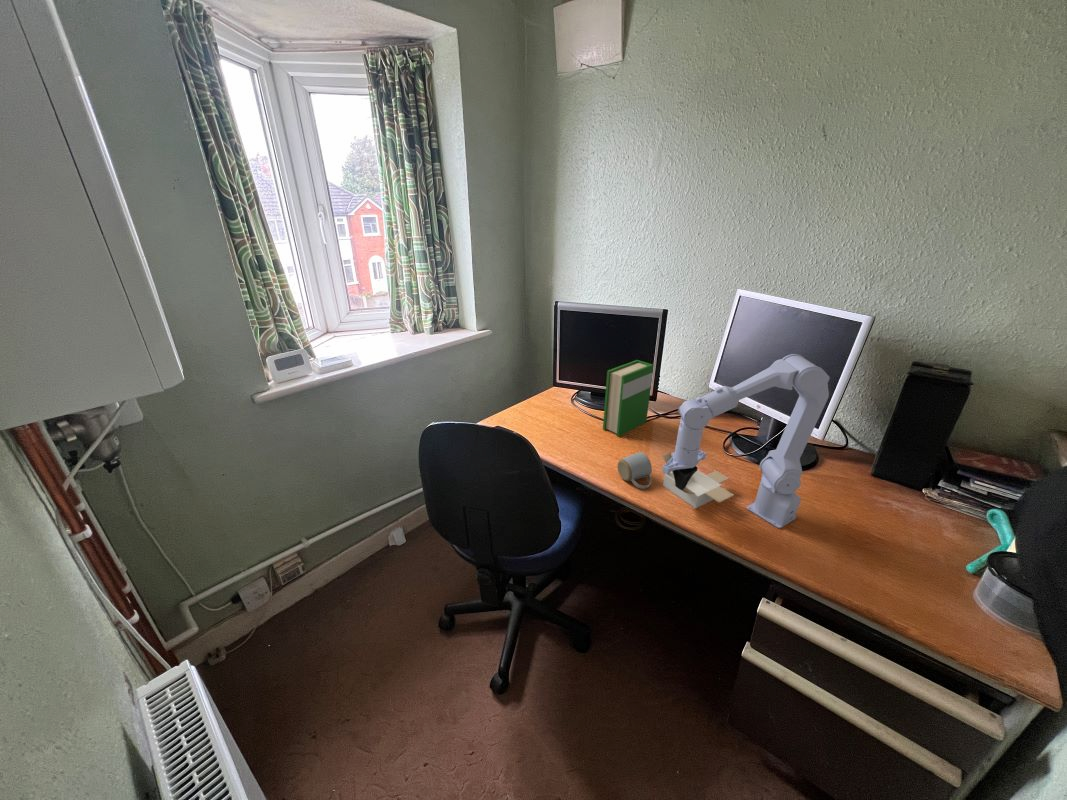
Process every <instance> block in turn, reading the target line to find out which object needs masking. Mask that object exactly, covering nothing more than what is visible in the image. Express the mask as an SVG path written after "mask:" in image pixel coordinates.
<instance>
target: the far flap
mask: <svg viewBox="0 0 1067 800" xmlns="http://www.w3.org/2000/svg"><path fill="white" fill-rule="evenodd" d="M673 452H675V450H674V451H672V452H669V453H666V454H664V455H661V457H662V459H663V460H664V462H665V464H666V463H667V462H668V461H669V460H670V459H671V458H672V457H673V456H671V453H673Z"/></svg>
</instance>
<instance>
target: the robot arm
mask: <svg viewBox="0 0 1067 800" xmlns="http://www.w3.org/2000/svg"><path fill="white" fill-rule="evenodd" d="M830 378H831V376H829V375H828V374H827V372H826V371H825V370H824V369H823V368H821V367H820V366H817V365H816V364H815V363H812V362H811V361H809V359H806V358H805V357H804V356H802V355H801V354H796V353H791V354H788V355H786V356H784V357H782V359H781V358H779V359H777V360H775V361H774V362H773V363H772V364H771V365H770V366H769V367H768V368H765V369H764V370H761V371H760V372H758V373H756V374H755V375H753V376H751V377H749V378H747V379H745V380H743V381H742V382H739V384H736V385H734V386H732V387H731V386H727V385H723V386H722V387H721V386H717V387H715V388H714V390H713V391H710V392H708V393H707V394H704V395H702V396H701V397H700V396H698V397H696V398H695V399H694V398H693V399H692V398H690V399H686V400H685V401H684V402H682V404H681V405H680V406H679V407H678V409H677V411H678V413H679V416H680V421H679V426H678V430H677V436H676V443H675V448H674V451H675V452H673V451H672V452H673V453H671V452H670V453H671V456H673V457H672V458H671V459H670V460H669V461H668V462H667V463H666V462H665V464H663V465H662V468H661V472H662V473H664V475H665V474H667V475H669V474H670V472H671V471H672V472H673V474H674V478H675V486H676V487H677V488H678V489H680V490H683V489H685V487H686V485H687V483H688V481H689V480H690V478H691V477H692V475H693V474H694V473H695V472H696V471H697V470H698V468H699V467H698V465H699V463H700V462H701V460H702V461H704V460H706V457H707V452H705V451H703V450H702V449H700V446H701V441H702V437H703V436H702V435H703V429H704V428H705V427H706V426H707V425H708V423H709V422H710V421H711V420H713V419H714V418H715V417H717V416H719V415H721V414H724V413H725V412H728V411H730V410H733V409H734V408H737V406H738V404H739V402H740V400H743V399H746V398H748V397H751V396H753V395H755V394H758V393H761V392H763V391H766V390H769V389H771V388H779V389H783V390H789V391H792V390H793V389H795V391H796V392H797V394H798V398H797V400H796V402H795V405H794V407H793V410H792V412H791V414H790V416H789V419H788V420H787V421H788V422H787V424H786V426H785V428H784V430H783V433H782V435H781V437H780V439H779V442H778V444H777V447H776V449H773V450H769V451H768V452H767V453H768V454H767V455H766V456H765V457H764V458H763V459H762V460H761V461H760V463H759V469H760V471H761V473H762V474H761V478H760V479H761V480H760V483H759V486H758V490H757V493H756V496H755V500H754V502H752V503H751V504H749V505H747V506H746V509H747V510H748V511H750V512H751V513H753V514H754V515H756V516H758V517H760V518H761V519H762V520H764V521H766V522H767V523H769V524H771V525H772V526H774V527H775V528H777V529H782V528H783V527H784V526H787V525H788V524H789V523H791V522H792V521H794V520H796V519H797V516H796V515H797V513H798V509H799V506H800V504H801V501H802V500H801V499H802V498H801V497H800V496H799V495H798V494H796V493H795V492H797V491H798V490H799V488H800V486H801V483H802V482H801V477H802V474H803V468H802V464H801V457H802V455H803V454H804V451H805V449H806V446H807V444H808V442H809V440H810V438H811V435H812V433H813V431H814V429H815V427H816V426H817V425H816V424H817V422H818V421H819V419H820V416H821V414H822V412H823V410H824V408H825V405H826V403H827V402H828V400H829V397H830V393H829V384H828V383H829V381H830V380H831V379H830Z"/></svg>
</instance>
